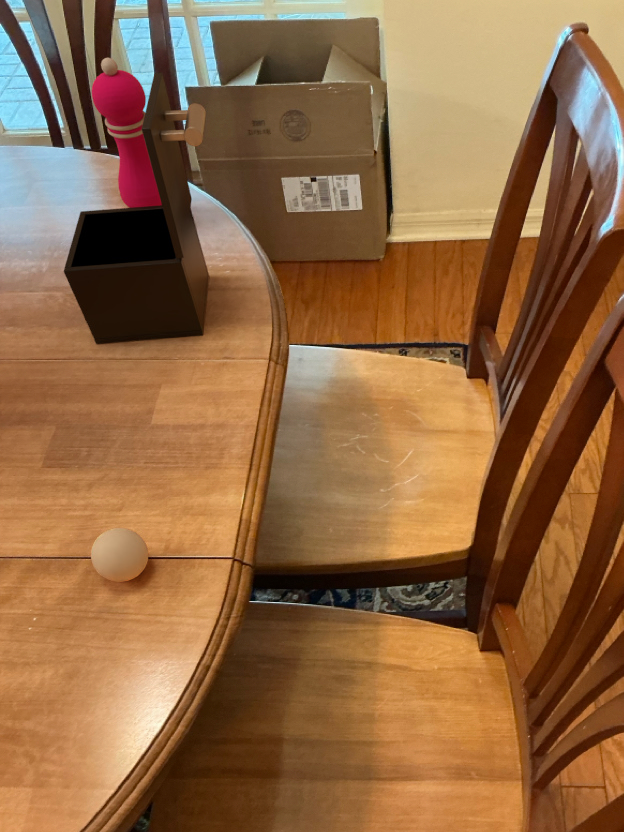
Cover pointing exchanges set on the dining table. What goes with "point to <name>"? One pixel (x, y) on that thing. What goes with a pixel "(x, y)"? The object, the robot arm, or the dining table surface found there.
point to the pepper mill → (126, 132)
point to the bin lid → (171, 156)
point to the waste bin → (136, 276)
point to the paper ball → (119, 554)
